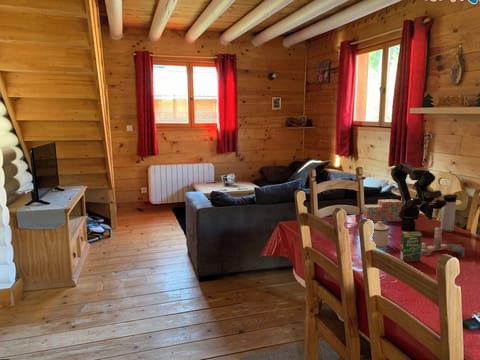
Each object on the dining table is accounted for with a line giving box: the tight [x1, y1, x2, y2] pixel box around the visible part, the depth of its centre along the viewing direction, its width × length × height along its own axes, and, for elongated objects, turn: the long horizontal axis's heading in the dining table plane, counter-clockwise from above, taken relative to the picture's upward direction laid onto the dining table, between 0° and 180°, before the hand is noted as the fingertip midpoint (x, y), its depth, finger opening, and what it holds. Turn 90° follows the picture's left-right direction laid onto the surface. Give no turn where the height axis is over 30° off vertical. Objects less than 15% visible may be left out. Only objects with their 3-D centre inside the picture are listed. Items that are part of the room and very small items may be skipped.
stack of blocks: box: [362, 198, 403, 223], centre depth 221 cm, size 21×6×12 cm, turn 94°
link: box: [421, 227, 449, 254], centre depth 171 cm, size 16×5×10 cm, turn 107°
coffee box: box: [399, 231, 423, 263], centre depth 161 cm, size 8×3×13 cm, turn 90°
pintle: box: [420, 241, 432, 256], centre depth 170 cm, size 6×6×5 cm
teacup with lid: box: [372, 221, 390, 248], centre depth 182 cm, size 12×9×12 cm
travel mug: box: [440, 194, 458, 233], centre depth 200 cm, size 6×7×20 cm
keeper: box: [446, 243, 466, 259], centre depth 167 cm, size 5×6×4 cm
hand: (430, 219), depth 179 cm, fingers closed
